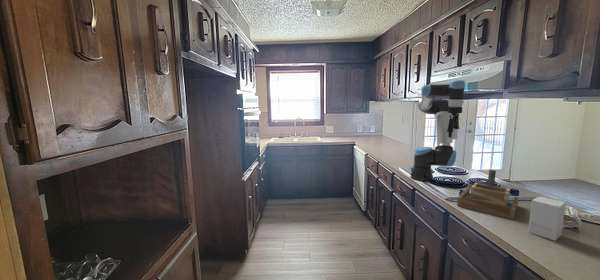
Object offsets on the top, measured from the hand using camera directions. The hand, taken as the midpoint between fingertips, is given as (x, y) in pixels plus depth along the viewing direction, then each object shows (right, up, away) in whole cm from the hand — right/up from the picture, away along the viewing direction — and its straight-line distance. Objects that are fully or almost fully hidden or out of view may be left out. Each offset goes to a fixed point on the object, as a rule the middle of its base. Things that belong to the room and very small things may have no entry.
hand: (452, 140), depth 159 cm
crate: (+12, -33, -16) cm, 38 cm away
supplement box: (+11, -40, -48) cm, 64 cm away
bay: (+8, -36, -19) cm, 41 cm away
